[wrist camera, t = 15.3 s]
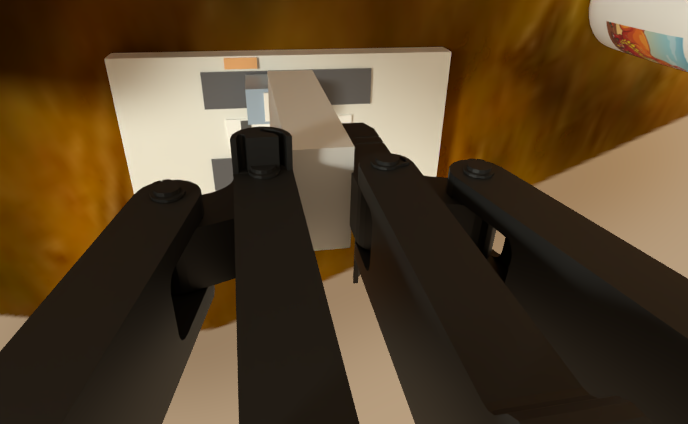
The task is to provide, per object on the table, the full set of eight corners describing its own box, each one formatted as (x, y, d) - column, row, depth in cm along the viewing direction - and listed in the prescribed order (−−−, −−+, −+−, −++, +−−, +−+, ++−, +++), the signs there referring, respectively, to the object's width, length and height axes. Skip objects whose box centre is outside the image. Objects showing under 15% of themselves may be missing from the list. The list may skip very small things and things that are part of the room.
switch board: (141, 195, 42) (136, 207, 40) (110, 52, 36) (103, 59, 34) (428, 177, 46) (436, 188, 44) (442, 46, 40) (452, 52, 39)
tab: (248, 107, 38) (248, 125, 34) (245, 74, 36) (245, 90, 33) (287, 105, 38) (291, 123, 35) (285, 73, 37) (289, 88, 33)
